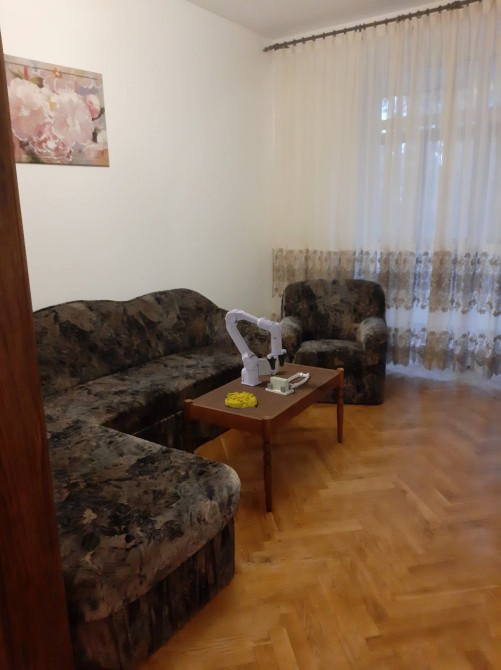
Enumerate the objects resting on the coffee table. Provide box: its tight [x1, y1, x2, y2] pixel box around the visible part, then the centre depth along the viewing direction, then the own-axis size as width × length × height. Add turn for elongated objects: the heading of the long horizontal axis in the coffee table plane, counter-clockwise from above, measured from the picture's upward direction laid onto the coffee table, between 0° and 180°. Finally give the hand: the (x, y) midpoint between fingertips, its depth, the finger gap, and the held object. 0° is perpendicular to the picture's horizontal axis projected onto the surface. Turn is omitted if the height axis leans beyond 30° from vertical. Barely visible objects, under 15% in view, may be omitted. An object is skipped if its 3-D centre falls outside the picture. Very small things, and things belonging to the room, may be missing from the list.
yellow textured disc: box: [224, 391, 258, 409], centre depth 257 cm, size 17×16×4 cm
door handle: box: [287, 371, 310, 390], centre depth 285 cm, size 3×10×25 cm
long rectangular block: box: [269, 376, 289, 392], centre depth 270 cm, size 10×3×6 cm, turn 48°
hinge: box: [257, 356, 279, 377], centre depth 301 cm, size 14×5×10 cm, turn 105°
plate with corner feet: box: [265, 382, 295, 396], centre depth 271 cm, size 14×7×4 cm, turn 48°
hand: (277, 368), depth 279 cm, fingers open, 7 cm apart
